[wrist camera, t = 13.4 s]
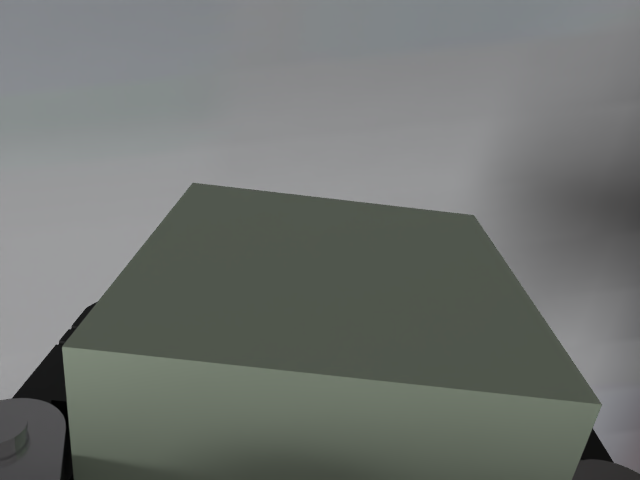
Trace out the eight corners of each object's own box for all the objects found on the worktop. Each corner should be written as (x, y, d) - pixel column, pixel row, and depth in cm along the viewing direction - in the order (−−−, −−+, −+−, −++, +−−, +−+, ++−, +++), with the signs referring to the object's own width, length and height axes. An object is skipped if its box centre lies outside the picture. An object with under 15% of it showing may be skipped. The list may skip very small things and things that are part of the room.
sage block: (193, 182, 10) (62, 346, 5) (473, 215, 10) (601, 404, 5) (188, 407, 11) (91, 675, 7) (421, 432, 12) (479, 710, 7)
